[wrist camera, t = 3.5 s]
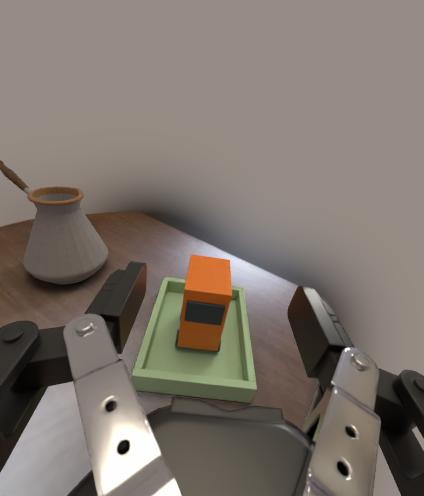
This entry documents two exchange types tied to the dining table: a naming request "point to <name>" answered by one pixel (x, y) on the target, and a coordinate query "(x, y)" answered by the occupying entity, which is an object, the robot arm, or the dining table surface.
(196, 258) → the toy van
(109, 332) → the robot arm
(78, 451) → the dining table surface
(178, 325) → the green square tray
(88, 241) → the coffee pot
